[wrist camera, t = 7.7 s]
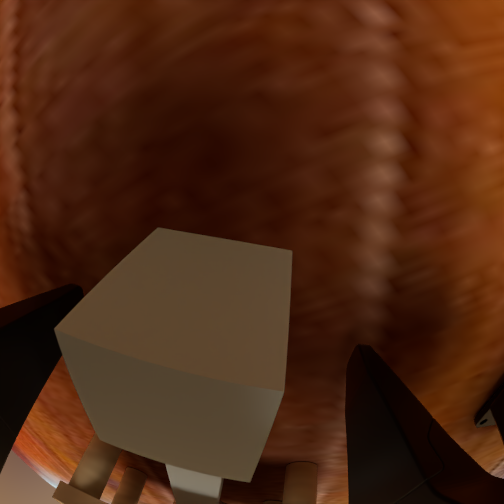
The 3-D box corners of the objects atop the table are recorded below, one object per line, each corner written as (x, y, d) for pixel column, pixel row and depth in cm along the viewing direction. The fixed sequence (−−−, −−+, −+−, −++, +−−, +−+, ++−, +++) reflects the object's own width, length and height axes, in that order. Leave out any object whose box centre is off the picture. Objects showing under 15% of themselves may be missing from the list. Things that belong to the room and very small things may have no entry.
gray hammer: (292, 250, 9) (284, 392, 4) (231, 493, 17) (220, 548, 13) (158, 227, 9) (53, 328, 4) (179, 481, 18) (162, 534, 13)
